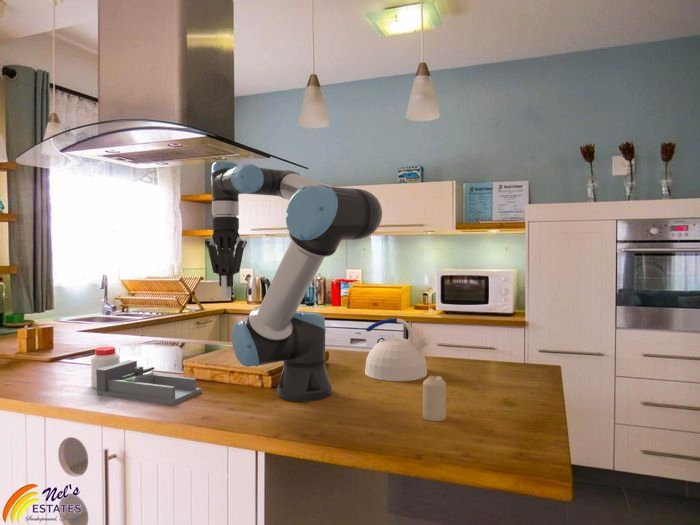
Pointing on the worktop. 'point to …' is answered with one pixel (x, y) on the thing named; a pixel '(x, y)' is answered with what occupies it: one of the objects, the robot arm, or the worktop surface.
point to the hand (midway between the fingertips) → (226, 297)
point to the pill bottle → (102, 361)
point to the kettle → (396, 356)
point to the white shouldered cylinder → (434, 399)
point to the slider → (140, 375)
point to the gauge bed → (144, 385)
